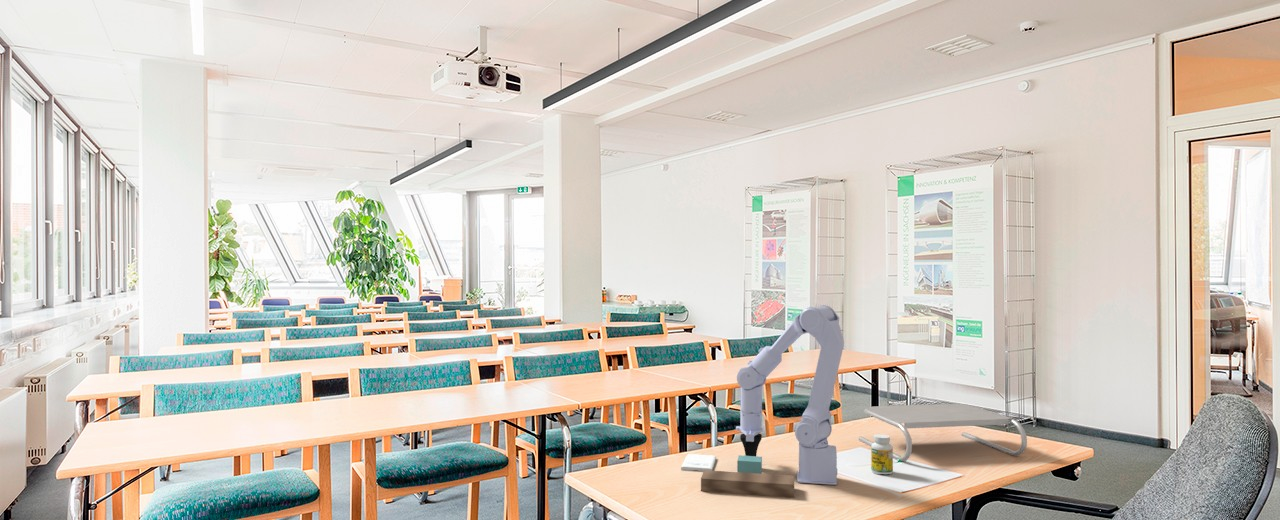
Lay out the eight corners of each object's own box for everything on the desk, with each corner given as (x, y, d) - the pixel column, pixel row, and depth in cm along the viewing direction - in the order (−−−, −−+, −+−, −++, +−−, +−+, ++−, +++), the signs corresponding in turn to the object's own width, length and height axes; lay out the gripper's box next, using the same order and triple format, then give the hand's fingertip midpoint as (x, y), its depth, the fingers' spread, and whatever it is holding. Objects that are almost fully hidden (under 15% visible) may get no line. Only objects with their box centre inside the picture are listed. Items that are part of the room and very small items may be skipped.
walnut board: (793, 488, 173) (793, 475, 173) (794, 497, 166) (794, 484, 166) (703, 482, 177) (704, 470, 177) (700, 490, 170) (700, 478, 170)
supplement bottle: (896, 472, 186) (896, 436, 186) (886, 477, 182) (887, 439, 182) (877, 468, 190) (877, 432, 190) (867, 472, 186) (867, 436, 186)
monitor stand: (965, 436, 226) (965, 402, 226) (1028, 461, 199) (1028, 422, 199) (857, 441, 219) (858, 406, 219) (908, 467, 192) (908, 427, 192)
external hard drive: (716, 461, 198) (711, 474, 185) (687, 459, 199) (680, 472, 187) (716, 455, 198) (711, 468, 185) (687, 453, 199) (680, 465, 187)
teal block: (761, 473, 185) (761, 456, 185) (761, 479, 180) (761, 462, 180) (738, 472, 186) (738, 455, 186) (737, 478, 181) (737, 460, 181)
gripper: (737, 405, 198) (737, 453, 198) (734, 416, 184) (734, 468, 184) (763, 406, 196) (763, 455, 197) (762, 417, 182) (761, 470, 182)
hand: (750, 461), depth 190 cm, fingers closed
